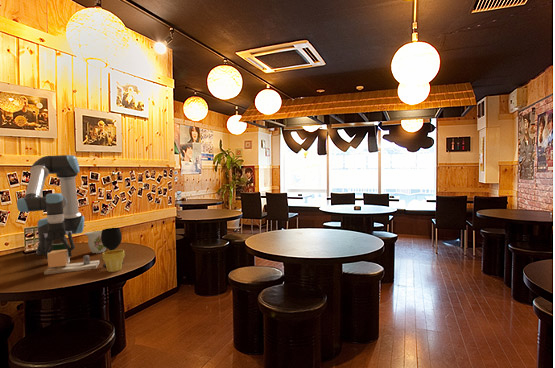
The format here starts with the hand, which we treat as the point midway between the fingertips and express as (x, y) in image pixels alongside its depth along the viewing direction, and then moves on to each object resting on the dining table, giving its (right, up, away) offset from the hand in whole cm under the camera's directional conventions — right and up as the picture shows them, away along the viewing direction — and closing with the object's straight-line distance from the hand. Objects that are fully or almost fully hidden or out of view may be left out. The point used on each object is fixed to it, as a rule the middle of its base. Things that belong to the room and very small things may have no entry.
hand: (59, 263), depth 182 cm
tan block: (0, 0, 0) cm, 0 cm away
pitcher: (+2, -1, +38) cm, 38 cm away
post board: (+6, -3, +2) cm, 7 cm away
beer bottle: (-11, -3, +19) cm, 23 cm away
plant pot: (+32, -3, -3) cm, 32 cm away
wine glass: (+26, -2, +7) cm, 27 cm away
